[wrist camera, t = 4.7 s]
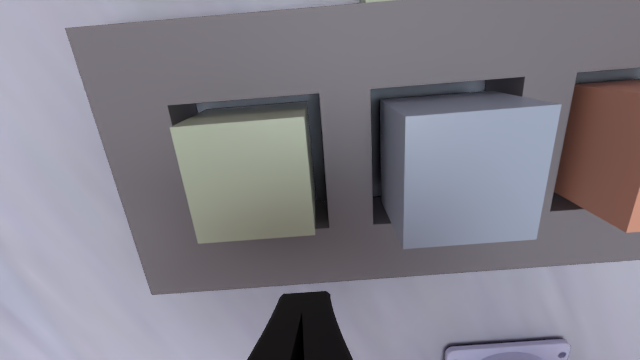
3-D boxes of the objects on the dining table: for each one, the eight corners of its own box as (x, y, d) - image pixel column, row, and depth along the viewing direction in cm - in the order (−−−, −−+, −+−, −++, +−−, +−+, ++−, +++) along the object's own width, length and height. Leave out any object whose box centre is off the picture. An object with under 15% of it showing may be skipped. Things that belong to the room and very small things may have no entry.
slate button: (480, 193, 16) (536, 239, 12) (381, 200, 16) (403, 249, 12) (491, 90, 14) (561, 104, 10) (380, 99, 14) (405, 116, 10)
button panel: (664, 223, 18) (727, 253, 16) (176, 259, 19) (151, 294, 16) (750, -31, 14) (860, -53, 11) (110, 23, 14) (61, 15, 12)
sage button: (315, 193, 17) (315, 234, 13) (224, 200, 17) (197, 243, 13) (307, 101, 15) (304, 116, 11) (206, 109, 15) (169, 127, 12)
